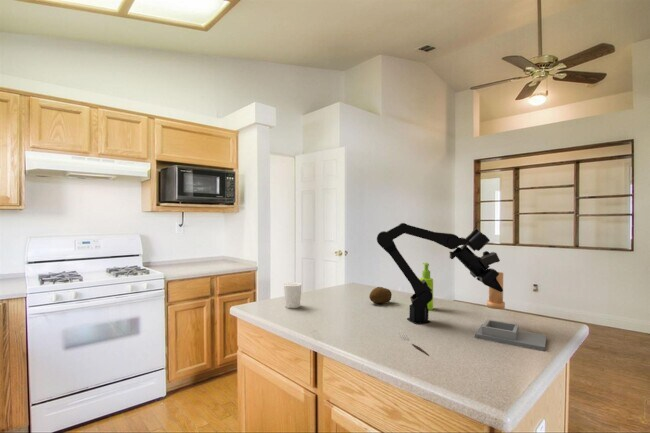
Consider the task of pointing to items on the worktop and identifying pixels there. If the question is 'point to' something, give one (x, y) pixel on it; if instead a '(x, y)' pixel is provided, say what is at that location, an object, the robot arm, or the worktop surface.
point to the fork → (413, 344)
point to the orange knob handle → (496, 295)
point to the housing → (510, 335)
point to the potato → (380, 295)
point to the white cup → (292, 295)
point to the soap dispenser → (428, 282)
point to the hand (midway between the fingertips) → (499, 289)
